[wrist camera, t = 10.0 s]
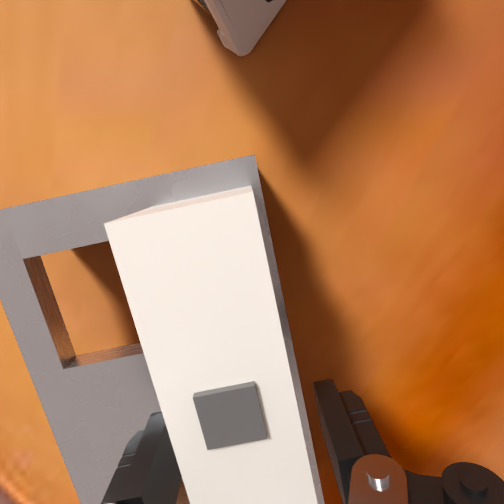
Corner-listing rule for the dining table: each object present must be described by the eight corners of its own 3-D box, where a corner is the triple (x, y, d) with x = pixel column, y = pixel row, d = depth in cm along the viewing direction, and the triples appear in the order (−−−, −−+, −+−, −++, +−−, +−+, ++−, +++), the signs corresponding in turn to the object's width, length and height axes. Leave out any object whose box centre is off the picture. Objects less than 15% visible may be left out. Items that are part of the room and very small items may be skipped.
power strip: (170, 200, 15) (96, 226, 8) (250, 182, 15) (253, 192, 7) (247, 496, 18) (248, 711, 11) (312, 484, 18) (357, 694, 11)
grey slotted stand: (252, 160, 16) (254, 154, 12) (315, 470, 20) (336, 564, 15) (49, 204, 17) (-33, 216, 12) (149, 501, 21) (120, 603, 16)
